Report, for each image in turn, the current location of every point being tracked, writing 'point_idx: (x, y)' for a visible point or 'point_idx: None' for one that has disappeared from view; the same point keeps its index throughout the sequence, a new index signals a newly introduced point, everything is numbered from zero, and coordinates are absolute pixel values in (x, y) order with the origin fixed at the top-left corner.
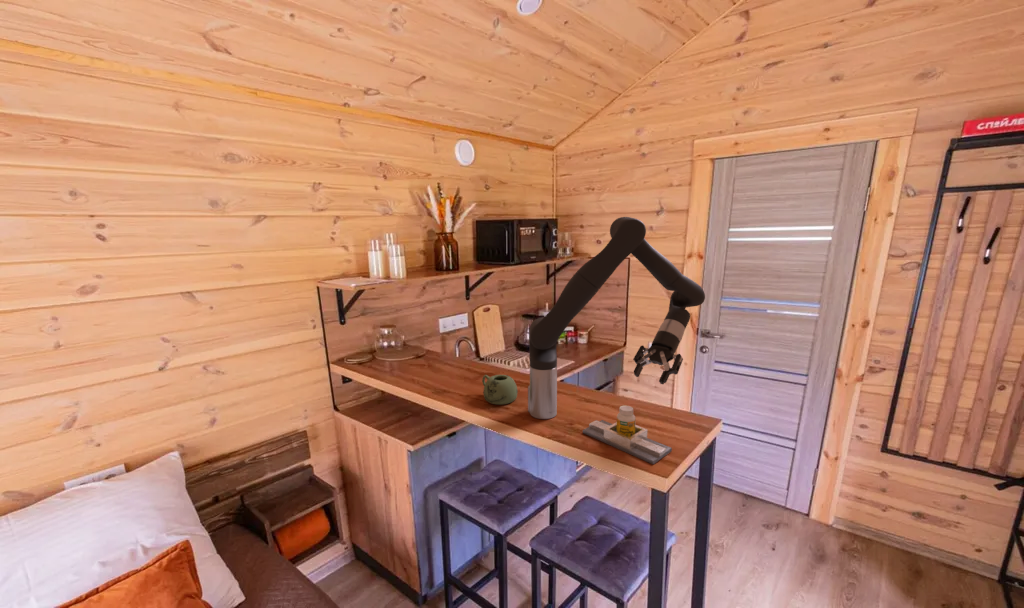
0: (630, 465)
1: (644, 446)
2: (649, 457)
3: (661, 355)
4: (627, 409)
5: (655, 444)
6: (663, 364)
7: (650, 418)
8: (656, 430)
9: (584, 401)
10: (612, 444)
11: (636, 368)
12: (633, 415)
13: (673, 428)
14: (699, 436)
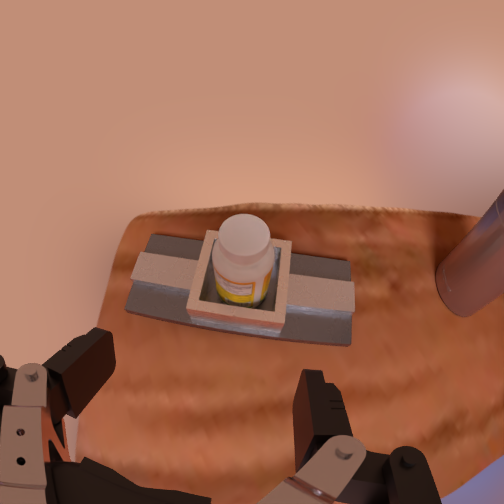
0: (193, 213)
1: (178, 258)
2: (161, 241)
3: (30, 490)
4: (236, 226)
5: (157, 283)
6: (43, 408)
7: (241, 472)
8: (192, 405)
9: (450, 419)
10: None
11: (327, 397)
12: (219, 255)
13: (154, 444)
14: (86, 426)
